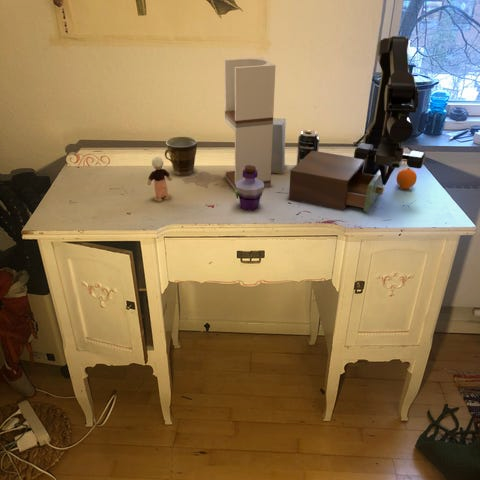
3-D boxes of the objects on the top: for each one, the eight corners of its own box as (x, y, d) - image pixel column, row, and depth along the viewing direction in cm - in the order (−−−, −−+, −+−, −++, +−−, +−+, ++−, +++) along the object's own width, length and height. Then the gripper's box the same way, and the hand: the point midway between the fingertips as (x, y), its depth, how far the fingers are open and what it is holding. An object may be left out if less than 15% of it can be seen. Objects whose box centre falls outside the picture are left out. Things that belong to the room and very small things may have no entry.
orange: (397, 182, 168) (400, 163, 165) (416, 185, 166) (420, 166, 163) (392, 189, 164) (396, 169, 160) (412, 193, 162) (416, 173, 158)
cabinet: (309, 177, 171) (311, 150, 166) (360, 187, 165) (365, 159, 160) (288, 199, 158) (290, 170, 152) (343, 210, 152) (347, 180, 147)
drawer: (330, 178, 168) (333, 155, 164) (388, 189, 162) (392, 165, 157) (311, 200, 155) (313, 175, 150) (373, 212, 149) (377, 187, 144)
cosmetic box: (282, 174, 173) (284, 125, 164) (260, 172, 174) (262, 123, 165) (285, 165, 180) (288, 117, 170) (264, 163, 181) (266, 116, 171)
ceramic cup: (181, 164, 180) (180, 134, 174) (204, 170, 176) (203, 140, 169) (155, 175, 172) (152, 145, 166) (178, 183, 167) (176, 152, 161)
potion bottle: (230, 203, 156) (229, 163, 148) (256, 198, 158) (257, 159, 151) (241, 215, 149) (242, 174, 142) (269, 210, 152) (270, 169, 145)
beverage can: (305, 163, 181) (308, 128, 174) (320, 169, 177) (324, 133, 170) (291, 168, 177) (294, 132, 170) (307, 174, 173) (310, 137, 166)
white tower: (258, 174, 173) (262, 57, 152) (270, 186, 165) (275, 65, 144) (225, 178, 171) (224, 59, 149) (235, 191, 163) (235, 67, 141)
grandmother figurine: (166, 193, 161) (163, 152, 153) (174, 197, 159) (171, 155, 151) (146, 200, 157) (141, 159, 149) (154, 204, 154) (150, 162, 147)
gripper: (352, 133, 140) (344, 189, 150) (423, 144, 134) (411, 201, 143) (363, 122, 148) (355, 175, 158) (431, 131, 142) (419, 186, 151)
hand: (384, 184), depth 152 cm, fingers closed
